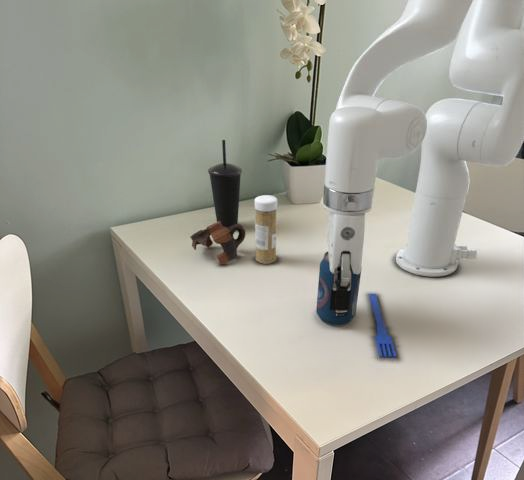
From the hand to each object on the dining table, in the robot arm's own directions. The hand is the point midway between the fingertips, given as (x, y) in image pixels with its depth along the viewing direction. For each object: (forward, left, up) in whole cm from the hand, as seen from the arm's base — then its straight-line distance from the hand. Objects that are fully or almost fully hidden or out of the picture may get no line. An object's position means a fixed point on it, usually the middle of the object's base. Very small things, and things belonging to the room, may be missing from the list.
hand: (337, 296), depth 88 cm
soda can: (0, 0, -4) cm, 4 cm away
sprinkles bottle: (+13, -22, -4) cm, 26 cm away
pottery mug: (+23, -24, -4) cm, 34 cm away
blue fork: (-8, +2, -4) cm, 9 cm away
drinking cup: (+23, -39, -4) cm, 46 cm away
